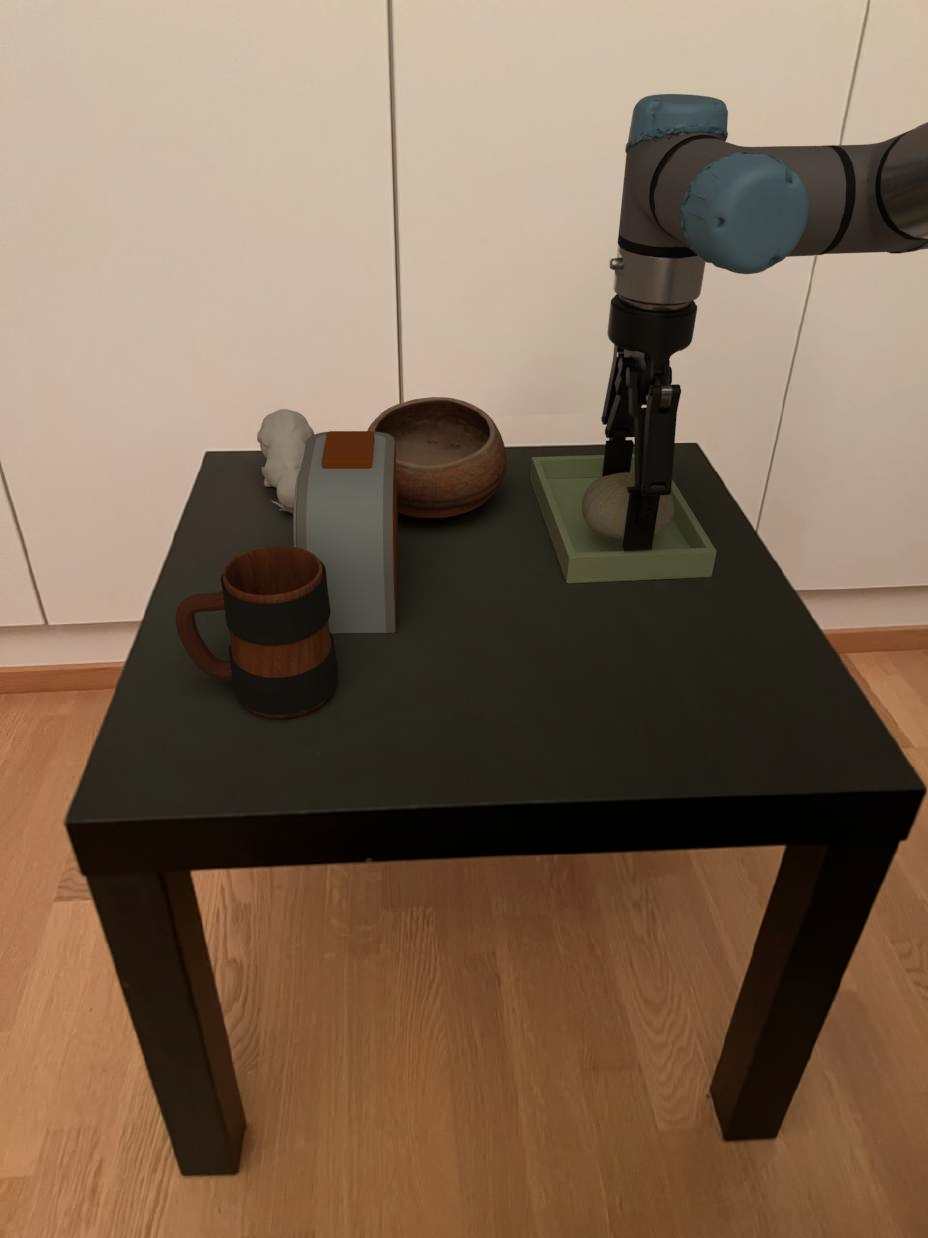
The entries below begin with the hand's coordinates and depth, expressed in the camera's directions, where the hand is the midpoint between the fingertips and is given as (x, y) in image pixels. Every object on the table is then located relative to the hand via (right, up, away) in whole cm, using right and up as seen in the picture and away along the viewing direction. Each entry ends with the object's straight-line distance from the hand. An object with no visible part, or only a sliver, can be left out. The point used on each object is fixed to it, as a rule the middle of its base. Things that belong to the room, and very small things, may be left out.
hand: (624, 522), depth 96 cm
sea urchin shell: (0, 0, 0) cm, 0 cm away
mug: (-33, -16, -17) cm, 40 cm away
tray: (0, 0, +6) cm, 6 cm away
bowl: (-20, +3, +9) cm, 22 cm away
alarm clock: (-27, -7, -5) cm, 28 cm away
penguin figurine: (-35, +4, +10) cm, 37 cm away
